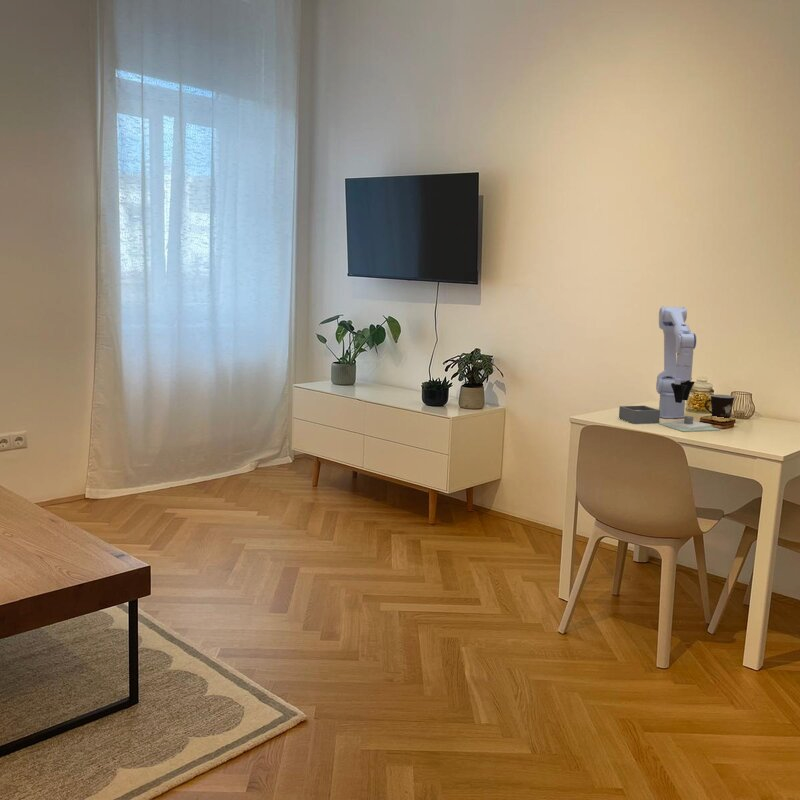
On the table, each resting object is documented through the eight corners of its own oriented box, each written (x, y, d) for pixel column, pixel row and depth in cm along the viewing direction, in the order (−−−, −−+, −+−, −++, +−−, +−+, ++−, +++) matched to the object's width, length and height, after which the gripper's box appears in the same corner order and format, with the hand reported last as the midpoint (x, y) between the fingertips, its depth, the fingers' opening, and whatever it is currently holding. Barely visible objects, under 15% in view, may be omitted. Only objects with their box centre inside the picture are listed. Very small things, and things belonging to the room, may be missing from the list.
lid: (685, 422, 323) (686, 413, 323) (711, 427, 313) (712, 418, 313) (664, 424, 317) (665, 415, 316) (690, 430, 307) (691, 420, 306)
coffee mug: (728, 419, 333) (730, 394, 331) (735, 423, 324) (737, 398, 322) (698, 418, 334) (700, 393, 332) (704, 422, 325) (706, 397, 324)
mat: (693, 422, 325) (694, 421, 325) (720, 430, 310) (720, 429, 310) (658, 423, 320) (658, 422, 320) (683, 431, 305) (683, 430, 305)
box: (643, 417, 333) (644, 405, 332) (659, 423, 322) (660, 410, 321) (618, 418, 330) (619, 406, 329) (634, 423, 319) (634, 411, 318)
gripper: (679, 363, 321) (676, 397, 324) (667, 366, 310) (664, 402, 312) (698, 364, 317) (695, 399, 320) (686, 368, 306) (683, 404, 308)
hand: (681, 401), depth 316 cm, fingers open, 7 cm apart
